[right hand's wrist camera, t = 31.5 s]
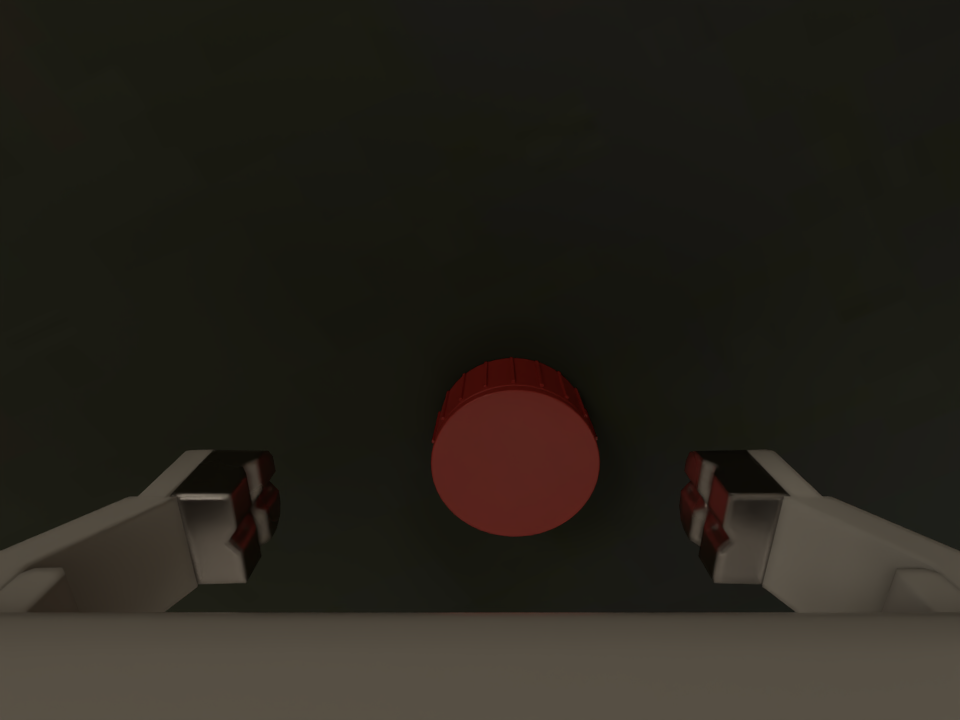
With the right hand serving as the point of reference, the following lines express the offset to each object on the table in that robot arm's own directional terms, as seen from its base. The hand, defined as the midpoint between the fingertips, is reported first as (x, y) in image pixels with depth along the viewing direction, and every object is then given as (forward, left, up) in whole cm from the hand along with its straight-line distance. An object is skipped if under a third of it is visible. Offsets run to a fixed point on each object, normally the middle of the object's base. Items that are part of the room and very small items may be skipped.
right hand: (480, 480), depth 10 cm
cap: (+1, -1, -3) cm, 3 cm away
